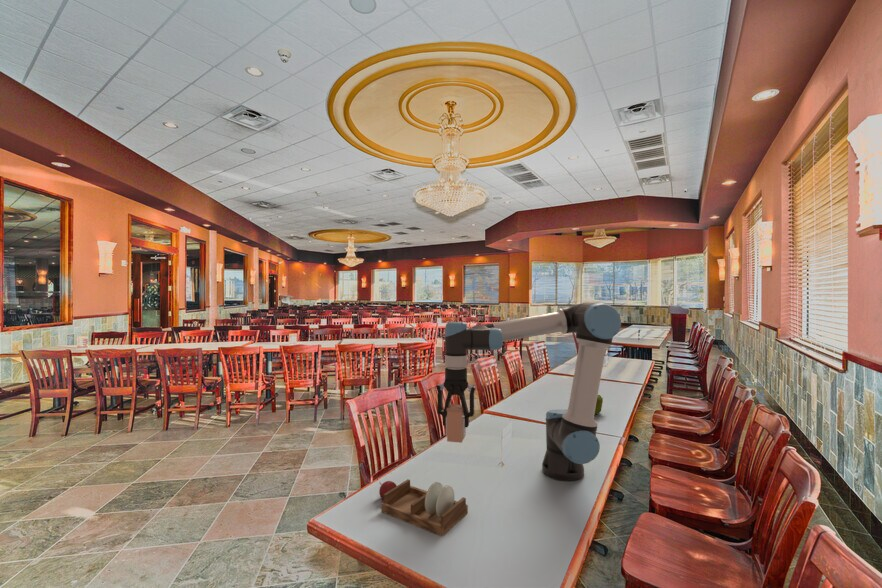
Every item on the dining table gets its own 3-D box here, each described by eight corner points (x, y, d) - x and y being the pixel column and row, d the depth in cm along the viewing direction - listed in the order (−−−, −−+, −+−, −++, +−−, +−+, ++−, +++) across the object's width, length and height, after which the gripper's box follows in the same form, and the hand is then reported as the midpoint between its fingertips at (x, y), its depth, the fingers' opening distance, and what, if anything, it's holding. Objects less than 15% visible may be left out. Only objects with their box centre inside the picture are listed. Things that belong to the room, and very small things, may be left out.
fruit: (392, 498, 132) (383, 475, 135) (402, 494, 129) (393, 471, 132) (378, 506, 128) (370, 482, 130) (389, 502, 125) (380, 477, 127)
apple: (577, 409, 225) (577, 390, 225) (599, 410, 223) (599, 390, 223) (582, 416, 212) (581, 395, 213) (605, 416, 211) (605, 396, 211)
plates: (454, 510, 119) (454, 481, 119) (437, 524, 112) (437, 493, 112) (442, 505, 122) (441, 477, 122) (424, 519, 114) (424, 489, 114)
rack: (467, 512, 119) (467, 496, 119) (442, 536, 108) (441, 518, 108) (409, 492, 132) (409, 478, 132) (381, 511, 121) (381, 495, 121)
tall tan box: (464, 437, 134) (465, 405, 134) (462, 442, 128) (462, 409, 128) (449, 435, 135) (449, 404, 135) (446, 441, 130) (446, 408, 130)
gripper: (483, 366, 133) (483, 434, 133) (433, 364, 138) (432, 429, 137) (480, 370, 126) (480, 442, 126) (427, 368, 130) (427, 437, 130)
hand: (455, 435), depth 132 cm, fingers closed on tall tan box, 5 cm apart
